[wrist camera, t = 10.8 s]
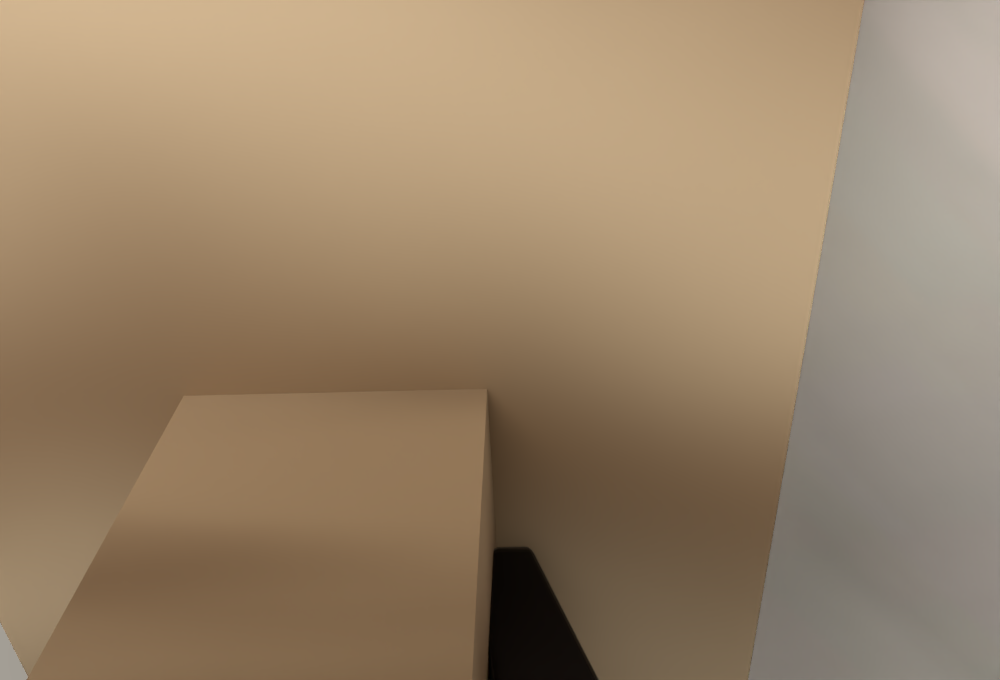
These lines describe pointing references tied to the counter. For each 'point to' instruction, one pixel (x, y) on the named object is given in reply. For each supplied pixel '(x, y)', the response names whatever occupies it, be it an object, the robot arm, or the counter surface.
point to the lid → (402, 325)
